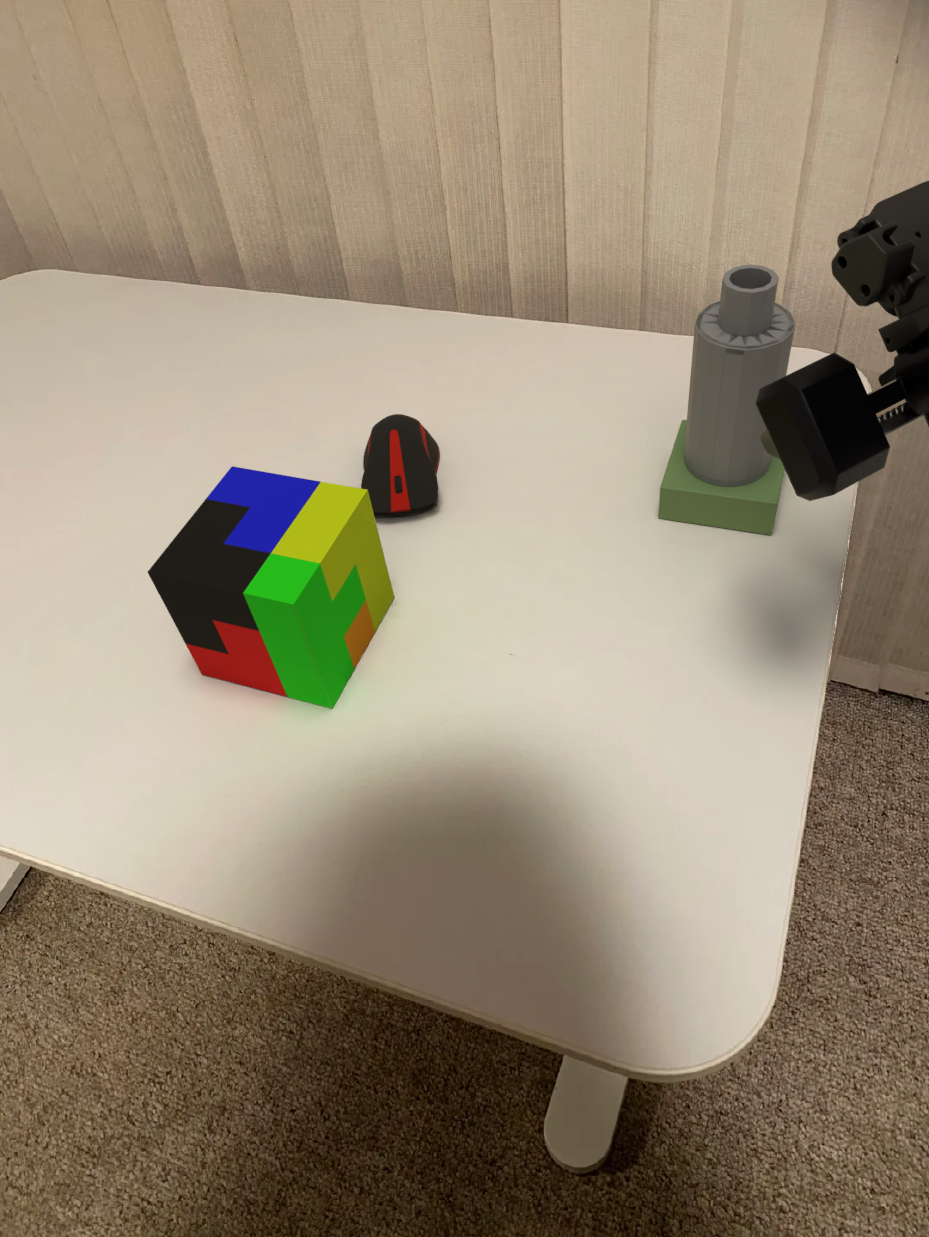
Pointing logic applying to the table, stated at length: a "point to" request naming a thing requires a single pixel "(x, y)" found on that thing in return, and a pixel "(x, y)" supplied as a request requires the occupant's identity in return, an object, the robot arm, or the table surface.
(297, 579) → the puzzle toy
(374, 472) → the computer mouse
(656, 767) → the table surface
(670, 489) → the green block
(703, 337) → the flask
